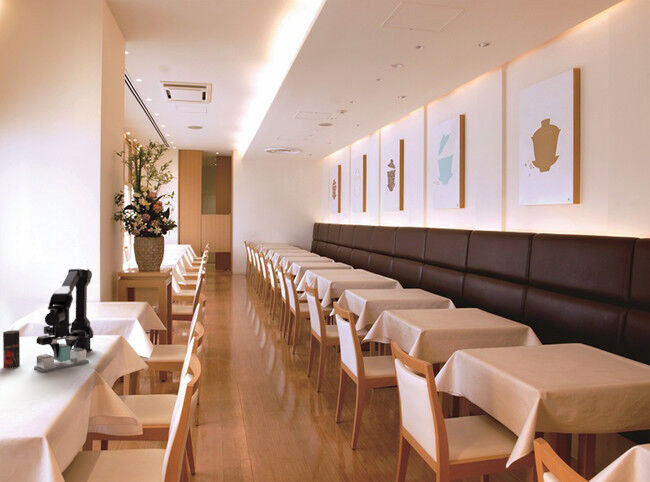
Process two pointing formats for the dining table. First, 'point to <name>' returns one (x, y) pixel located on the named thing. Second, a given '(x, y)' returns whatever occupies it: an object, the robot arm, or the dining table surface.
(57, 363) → the gray block holder
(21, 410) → the dining table surface
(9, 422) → the dining table surface
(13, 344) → the deodorant
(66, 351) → the block
